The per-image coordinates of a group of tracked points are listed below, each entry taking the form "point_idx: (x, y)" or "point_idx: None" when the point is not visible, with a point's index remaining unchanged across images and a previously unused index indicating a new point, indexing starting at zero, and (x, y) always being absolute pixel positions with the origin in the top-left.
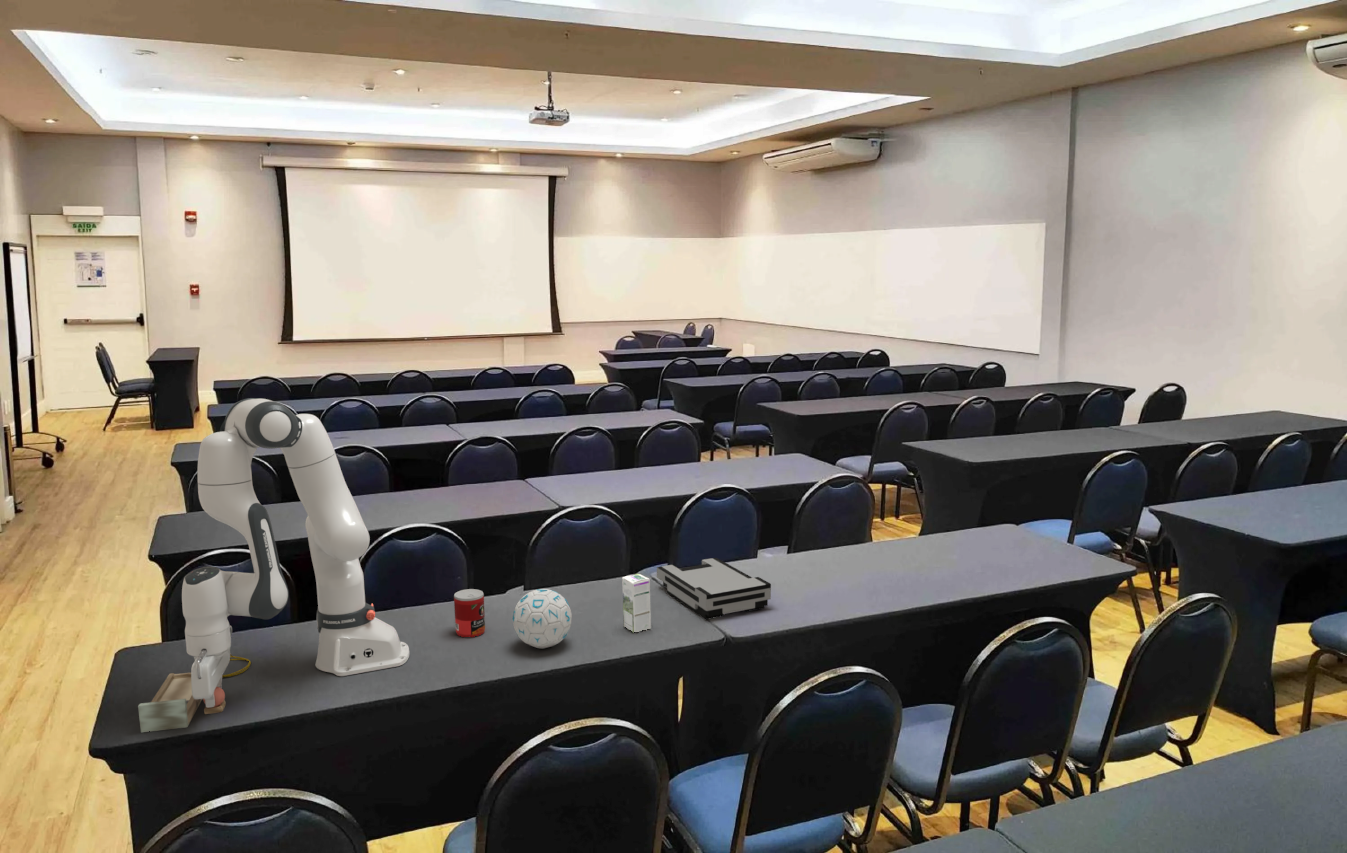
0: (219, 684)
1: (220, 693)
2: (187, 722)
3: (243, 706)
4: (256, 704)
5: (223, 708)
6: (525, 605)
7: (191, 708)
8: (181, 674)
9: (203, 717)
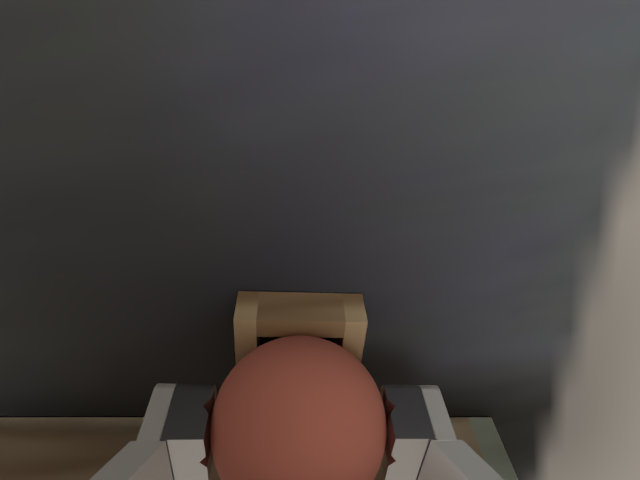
0: (153, 465)
1: (350, 420)
2: (486, 437)
3: (308, 160)
4: (300, 40)
5: (314, 296)
6: None
7: (382, 474)
8: None
9: (395, 373)
